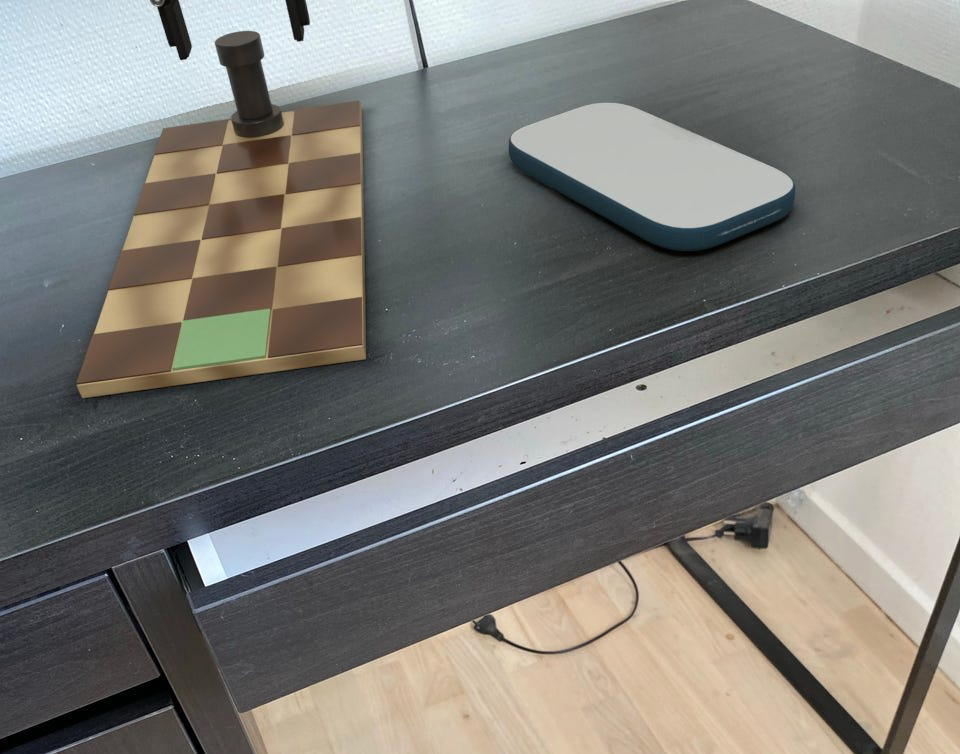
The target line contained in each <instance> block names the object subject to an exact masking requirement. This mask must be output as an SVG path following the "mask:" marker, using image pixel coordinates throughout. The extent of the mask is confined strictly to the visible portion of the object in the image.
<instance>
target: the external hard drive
mask: <svg viewBox="0 0 960 754" xmlns="http://www.w3.org/2000/svg"><path fill="white" fill-rule="evenodd" d="M508 155H509V156H508V157H509V159H510V161H511V163H512V165H514V166H515V168H517V169H518V170H519V171H521V172H523V173H524V174H526V175H527V176H530V177H531V178H532V179H535V180H537V181H539V182H540V183H541V184H544V185H546V186H547V187H549V188H551V189H553V190H555V191H557V192H559V193H560V194H562V195H563V196H566V197H567V198H569V199H571V200H572V201H574V202H576V203H578V204H579V205H581V206H583V207H585V208H586V209H588V210H591V211H592V212H594V213H596V214H598V216H599V215H600V216H601V217H603V218H605V219H606V220H608V221H610V222H612V223H613V224H616V225H617V226H619V227H621V228H622V229H624V230H626V231H627V232H630V233H631V234H633V235H635V236H637V237H639V238H640V239H642V240H643V241H646V242H647V243H650V244H652V245H654V246H657V247H659V248H663V249H665V250H670V251H676V252H697V251H703V250H708V249H713V248H715V247H717V246H720V245H723V244H726V243H728V242H730V241H732V240H735V239H737V238H740V237H742V236H745V235H748V234H749V233H752V232H754V231H757V230H760V229H761V228H764V227H766V226H769V225H772V224H774V223H776V222H777V221H780V220H782V219H784V218H785V217H787V216H788V215H789V214H790V212H791V211H792V209H793V207H794V204H795V200H796V199H795V198H796V185H795V182H794V180H793V179H792V177H791V176H790V175H789V174H787V173H785V172H784V171H782V170H780V169H778V168H777V167H774V166H772V165H770V164H769V163H768V164H767V163H765V162H763V161H761V160H759V159H757V158H755V157H752V156H749V155H747V154H745V153H742V152H740V151H737V150H735V149H734V148H730V147H728V146H727V145H724V144H722V143H720V142H717V141H714V140H713V139H710V138H708V137H706V136H703V135H700V134H698V133H696V132H693V131H691V130H689V129H687V128H685V127H682V126H680V125H677V124H675V123H673V122H671V121H669V120H666V119H664V118H661V117H660V116H657V115H654V114H652V113H650V112H648V111H645V110H643V109H641V108H637V107H636V106H632V105H629V104H625V103H621V102H611V101H607V102H595V103H594V102H593V103H590V104H585V105H582V106H578V107H575V108H571V109H569V110H567V111H563V112H561V113H558V114H555V115H552V116H549V117H546V118H543V119H541V120H537V121H534V122H532V123H529V124H527V125H524V126H522V127H519V128H517V129H516V130H514V131H513V132H512V133H511V135H510V136H509V138H508Z"/></svg>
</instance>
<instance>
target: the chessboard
mask: <svg viewBox="0 0 960 754" xmlns="http://www.w3.org/2000/svg"><path fill="white" fill-rule="evenodd" d="M282 117H283V121H284V125H283V127H282V128H281V129H279V130H278V131H276V132H274V133H271V134H269V135H265V136H261V137H253V138H246V137H240V136H238V135H236V134H235V132H234V128H233V124H232V121H231V119H228V118H226V119H225V118H223V119H219V120H218V119H217V120H211V121H210V120H209V121H204V122H203V121H202V122H196V123H190V124H183V125H175V126H170V127H163V128H162V130H161V134H160V136H159V139H158V143H157V145H156V147H155V151H154V156H153V159H152V162H151V165H150V168H149V170H148V173H147V176H146V179H145V182H144V183H143V186H142V189H141V192H140V194H139V198H138V199H137V200H138V201H137V203H136V206H135V210H134V212H133V218H132V221H131V224H130V225H129V229H128V232H127V235H126V238H125V241H124V244H123V247H122V250H121V251H120V252H119V257H118V259H117V262H116V265H115V268H114V271H113V274H112V277H111V280H110V283H109V286H108V289H107V294H106V297H105V300H104V303H103V305H102V308H101V311H100V315H99V317H98V320H97V324H96V327H95V330H94V332H93V334H92V336H91V339H90V342H89V344H88V347H87V350H86V352H85V353H86V354H85V356H84V359H83V362H82V364H81V368H80V371H79V373H78V377H77V380H76V384H75V385H76V388H77V390H78V392H79V394H80V396H81V398H82V399H88V398H95V397H103V396H109V395H110V396H111V395H117V394H125V393H131V392H139V391H140V392H141V391H144V390H145V391H146V390H153V389H161V388H168V387H177V386H183V385H190V384H191V385H192V384H197V383H205V382H211V381H218V380H227V379H232V378H240V377H248V376H256V375H262V374H270V373H277V372H284V371H290V370H297V369H305V368H313V367H314V368H315V367H321V366H327V365H328V366H329V365H334V364H341V363H342V364H343V363H348V362H355V361H364V360H367V330H366V329H367V328H366V327H367V326H366V325H367V321H366V271H365V270H366V268H365V267H366V265H365V264H366V263H365V261H366V259H365V256H366V255H365V207H364V205H365V203H364V201H365V200H364V198H365V197H364V195H365V193H364V142H363V140H364V135H363V134H364V133H363V109H362V103H361V101H360V100H358V99H357V100H352V101H344V102H338V103H331V104H324V105H316V106H309V107H302V108H295V109H294V110H290V111H284V112H282ZM264 309H270V310H271V314H270V323H269V332H268V341H267V350H266V358H262V359H255V360H248V361H240V362H233V363H226V364H219V365H211V366H204V367H197V368H190V369H183V370H175V371H173V369H172V367H173V363H174V358H175V354H176V350H177V345H178V341H179V336H180V332H181V328H182V323H183V321H184V320H192V319H199V318H206V317H213V316H220V315H228V314H235V313H242V312H249V311H256V310H264Z"/></svg>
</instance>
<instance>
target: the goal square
mask: <svg viewBox="0 0 960 754" xmlns="http://www.w3.org/2000/svg"><path fill="white" fill-rule="evenodd" d="M270 314H271V310H270V309H264V310H256V311H249V312H242V313H235V314H228V315H220V316H213V317H206V318H199V319H192V320H184V321H183V323H182V328H181V332H180V336H179V341H178V345H177V350H176V354H175V358H174V363H173V367H172V369H173V371H175V370H183V369H190V368H197V367H204V366H211V365H219V364H226V363H233V362H240V361H248V360H255V359H262V358H266V350H267V341H268V332H269V323H270Z"/></svg>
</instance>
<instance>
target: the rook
mask: <svg viewBox="0 0 960 754" xmlns="http://www.w3.org/2000/svg"><path fill="white" fill-rule="evenodd" d="M262 42H263V41H262V38H261V34H260V33H259V32H258V31H254V30H241V31H233V32H230V33H226V34H224V35H221V36H219V37H218V38H216V40H215V41H214V46H215V51H216V54H217V58H218V61H219V64H220V66H222V67H224V68H225V69H226V73H227V77H228V81H229V85H230V88H231V93H232V96H233V100H234V104H235V107H236V111H235V112H234V113H232V115H230V120H231V121H232V124H233V128H234V132H235V134H236V135H238V136H240V137H246V138H253V137H261V136H265V135H269V134H271V133H274V132H276V131H278V130H279V129H281V128H282V127H283V125H284V121H283V117H282V113H283V112H282V108H281V107H280V106H279V105H277V104H273V103H272V102H271V97H270V92H269V88H268V84H267V80H266V76H265V72H264V67H263V63H262V60H263V59H264V58H265V50H264V47H263V43H262Z"/></svg>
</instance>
